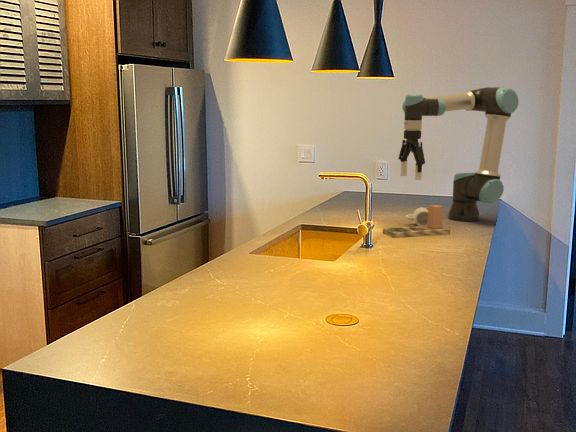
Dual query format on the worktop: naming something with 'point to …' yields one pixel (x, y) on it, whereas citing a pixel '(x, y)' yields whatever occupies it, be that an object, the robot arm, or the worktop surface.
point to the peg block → (435, 217)
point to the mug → (419, 216)
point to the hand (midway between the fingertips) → (410, 177)
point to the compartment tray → (414, 231)
